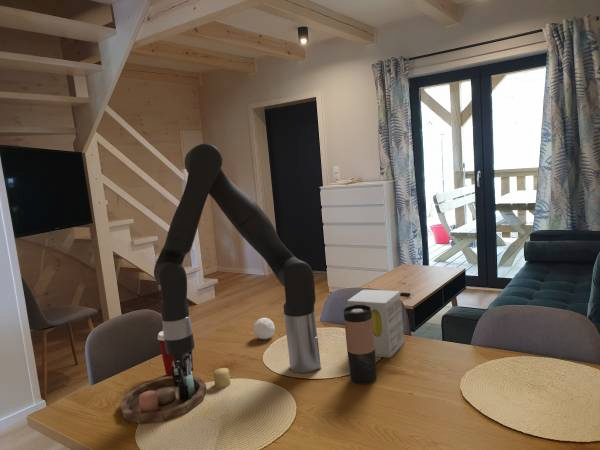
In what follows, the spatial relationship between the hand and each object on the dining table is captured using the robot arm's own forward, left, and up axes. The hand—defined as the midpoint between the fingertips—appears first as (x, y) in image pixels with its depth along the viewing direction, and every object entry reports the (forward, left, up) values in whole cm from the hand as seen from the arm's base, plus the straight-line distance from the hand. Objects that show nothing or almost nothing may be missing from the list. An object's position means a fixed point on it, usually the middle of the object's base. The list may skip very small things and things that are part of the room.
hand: (186, 393), depth 123 cm
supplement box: (-57, -22, -3) cm, 61 cm away
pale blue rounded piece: (0, 0, 0) cm, 0 cm away
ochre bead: (-9, -6, -2) cm, 11 cm away
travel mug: (-49, -2, -2) cm, 49 cm away
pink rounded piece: (+8, +6, -1) cm, 10 cm away
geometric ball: (-19, -42, -3) cm, 46 cm away
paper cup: (+8, -19, -2) cm, 21 cm away
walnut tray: (+6, 0, -2) cm, 7 cm away
